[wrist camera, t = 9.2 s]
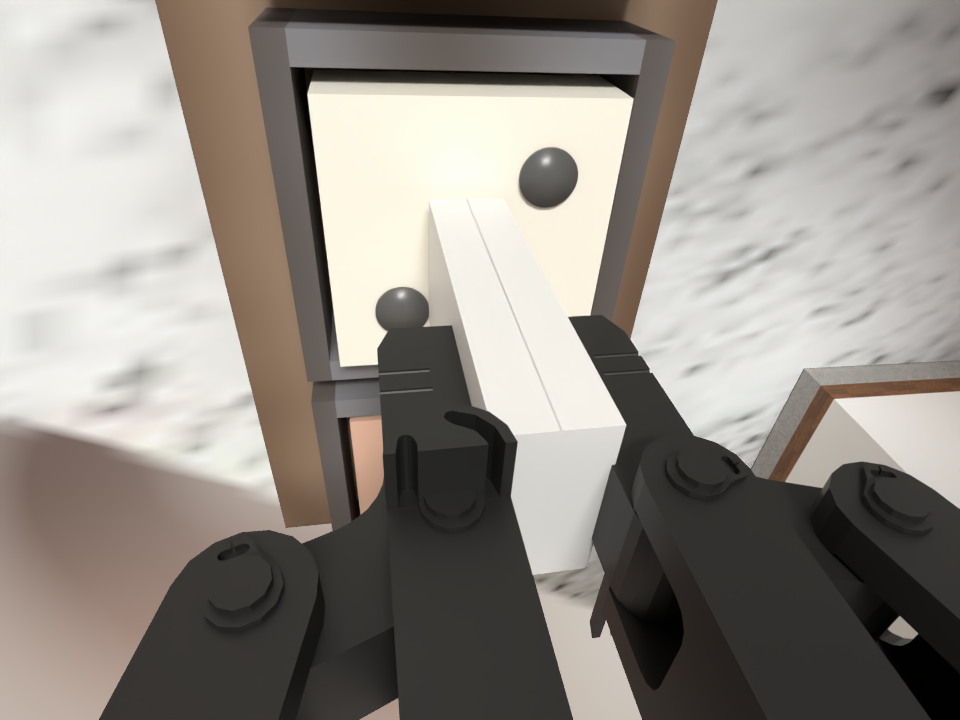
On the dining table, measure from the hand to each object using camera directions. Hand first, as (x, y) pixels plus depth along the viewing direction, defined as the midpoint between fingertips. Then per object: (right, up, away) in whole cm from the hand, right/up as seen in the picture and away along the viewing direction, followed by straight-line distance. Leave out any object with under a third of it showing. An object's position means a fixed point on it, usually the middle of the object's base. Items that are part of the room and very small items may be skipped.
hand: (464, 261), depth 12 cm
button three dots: (0, +2, +2) cm, 2 cm away
